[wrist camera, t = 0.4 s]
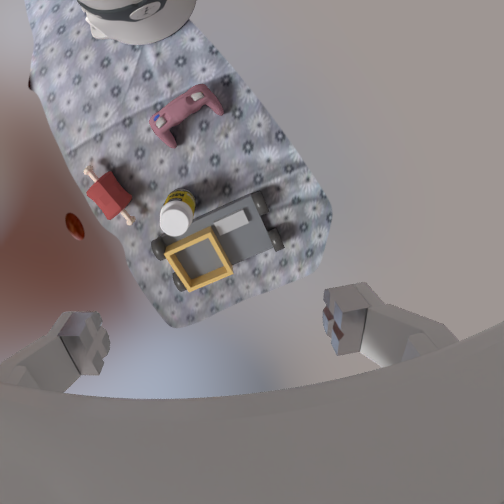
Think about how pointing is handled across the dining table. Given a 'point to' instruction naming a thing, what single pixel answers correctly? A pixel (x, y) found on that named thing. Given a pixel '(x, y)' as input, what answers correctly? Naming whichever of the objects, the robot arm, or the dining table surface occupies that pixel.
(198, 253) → the chassis
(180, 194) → the supplement bottle
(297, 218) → the dining table surface
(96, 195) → the meat
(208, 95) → the video game controller
